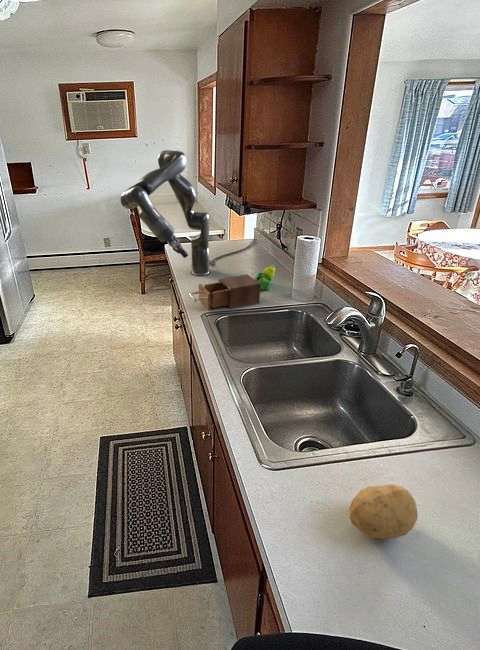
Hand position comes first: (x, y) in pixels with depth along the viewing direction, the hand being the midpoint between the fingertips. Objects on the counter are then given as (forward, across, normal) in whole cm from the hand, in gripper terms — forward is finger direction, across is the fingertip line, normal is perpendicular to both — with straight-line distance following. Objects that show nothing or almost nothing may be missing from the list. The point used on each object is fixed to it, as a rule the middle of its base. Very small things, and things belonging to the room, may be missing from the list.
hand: (186, 256), depth 166 cm
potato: (+17, -112, -8) cm, 113 cm away
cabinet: (+34, -3, -4) cm, 34 cm away
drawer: (+25, -4, +5) cm, 26 cm away
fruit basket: (+46, +9, -17) cm, 50 cm away
